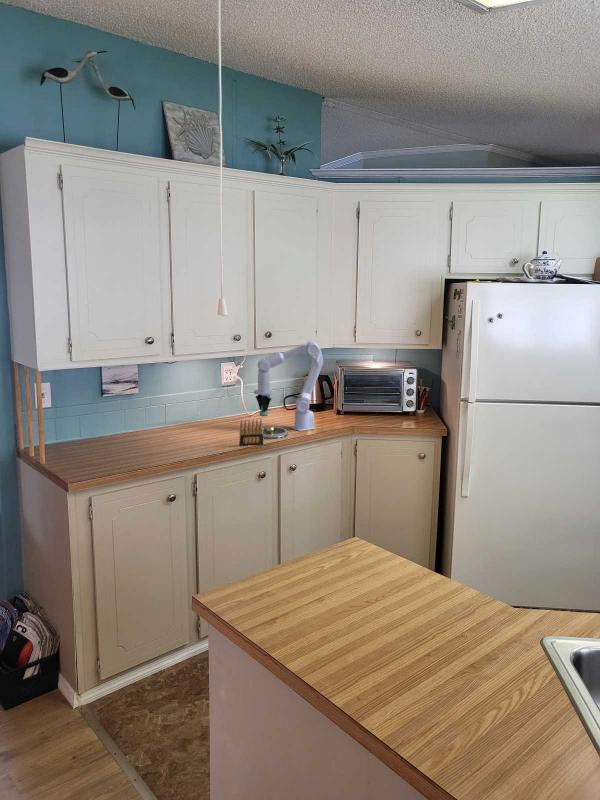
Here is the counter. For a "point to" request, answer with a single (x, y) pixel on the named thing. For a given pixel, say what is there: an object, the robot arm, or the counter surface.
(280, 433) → the round metal bowl
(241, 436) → the ammunition clip
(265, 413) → the teal mushroom knob
